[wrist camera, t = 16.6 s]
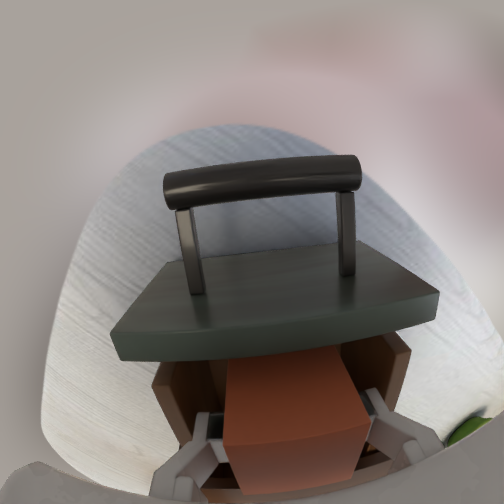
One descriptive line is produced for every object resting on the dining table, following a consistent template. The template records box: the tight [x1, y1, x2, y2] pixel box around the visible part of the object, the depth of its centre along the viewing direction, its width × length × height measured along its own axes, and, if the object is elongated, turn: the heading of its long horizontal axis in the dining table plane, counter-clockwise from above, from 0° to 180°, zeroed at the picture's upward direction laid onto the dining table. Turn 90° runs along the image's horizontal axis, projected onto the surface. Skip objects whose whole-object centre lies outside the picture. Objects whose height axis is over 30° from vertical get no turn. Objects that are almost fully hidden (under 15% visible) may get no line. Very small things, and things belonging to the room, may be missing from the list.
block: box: [223, 345, 371, 495], centre depth 9 cm, size 4×4×4 cm
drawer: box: [110, 155, 440, 478], centre depth 13 cm, size 18×11×8 cm, turn 6°
